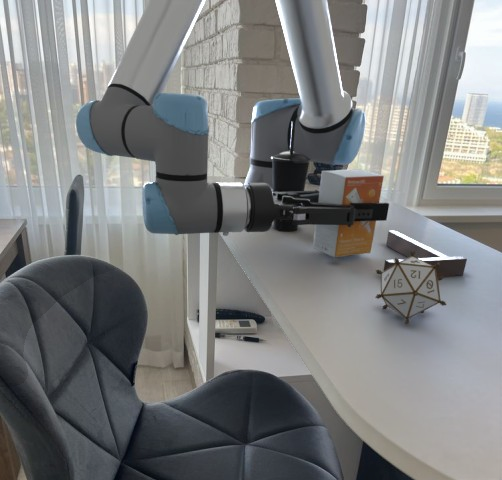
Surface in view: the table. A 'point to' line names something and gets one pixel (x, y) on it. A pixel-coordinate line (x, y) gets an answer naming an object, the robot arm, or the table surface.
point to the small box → (345, 192)
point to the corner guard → (424, 255)
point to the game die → (410, 286)
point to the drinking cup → (289, 175)
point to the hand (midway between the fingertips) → (373, 206)
